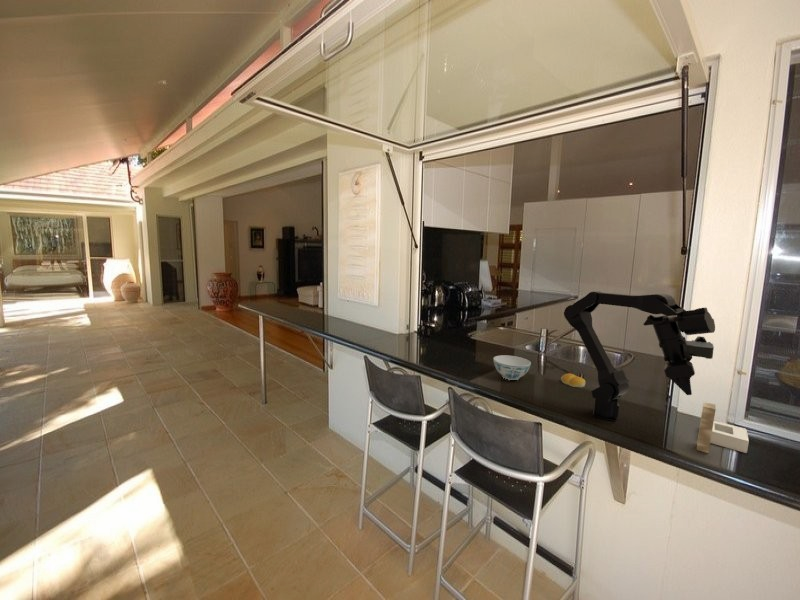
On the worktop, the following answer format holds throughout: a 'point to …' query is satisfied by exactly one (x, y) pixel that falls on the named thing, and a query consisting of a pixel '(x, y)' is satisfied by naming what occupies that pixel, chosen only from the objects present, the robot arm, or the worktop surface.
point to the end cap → (730, 436)
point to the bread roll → (573, 380)
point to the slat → (706, 427)
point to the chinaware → (511, 366)
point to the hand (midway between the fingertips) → (688, 388)
